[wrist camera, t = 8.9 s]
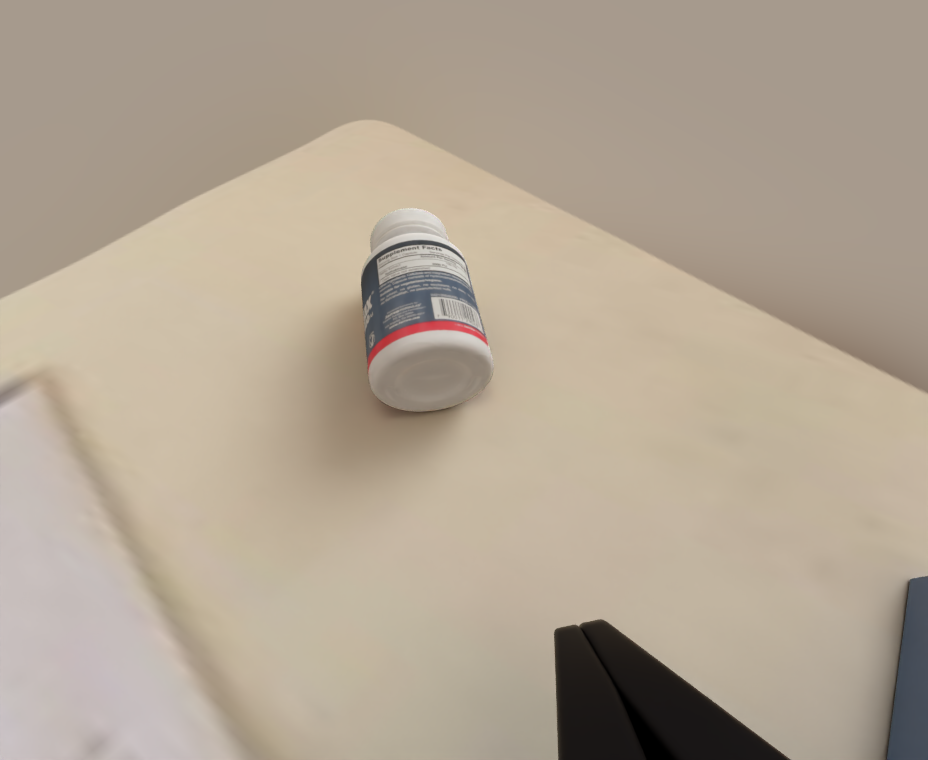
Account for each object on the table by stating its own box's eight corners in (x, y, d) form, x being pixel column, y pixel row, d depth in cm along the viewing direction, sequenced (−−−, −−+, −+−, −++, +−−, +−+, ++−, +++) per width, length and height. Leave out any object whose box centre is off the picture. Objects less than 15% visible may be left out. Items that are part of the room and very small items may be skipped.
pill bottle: (389, 424, 20) (375, 288, 25) (499, 400, 20) (464, 267, 25) (349, 361, 16) (342, 210, 21) (490, 329, 16) (450, 184, 20)
